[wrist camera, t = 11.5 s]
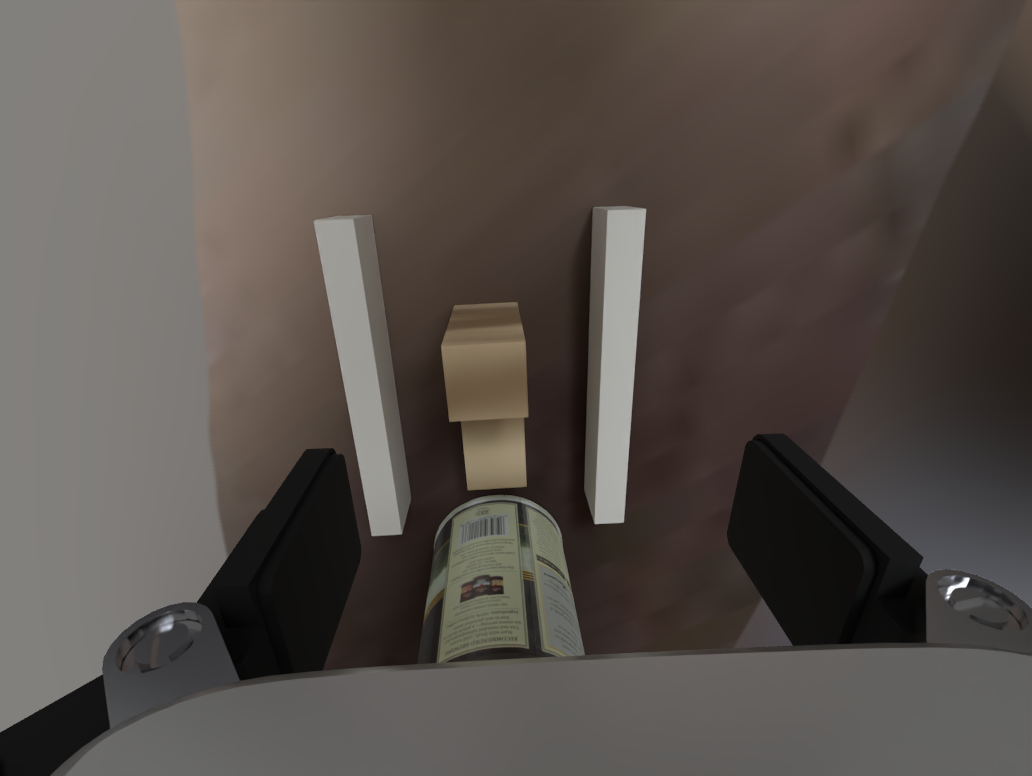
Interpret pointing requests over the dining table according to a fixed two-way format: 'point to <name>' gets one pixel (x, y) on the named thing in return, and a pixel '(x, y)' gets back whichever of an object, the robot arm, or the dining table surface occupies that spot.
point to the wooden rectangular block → (488, 391)
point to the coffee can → (499, 586)
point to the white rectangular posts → (372, 375)
